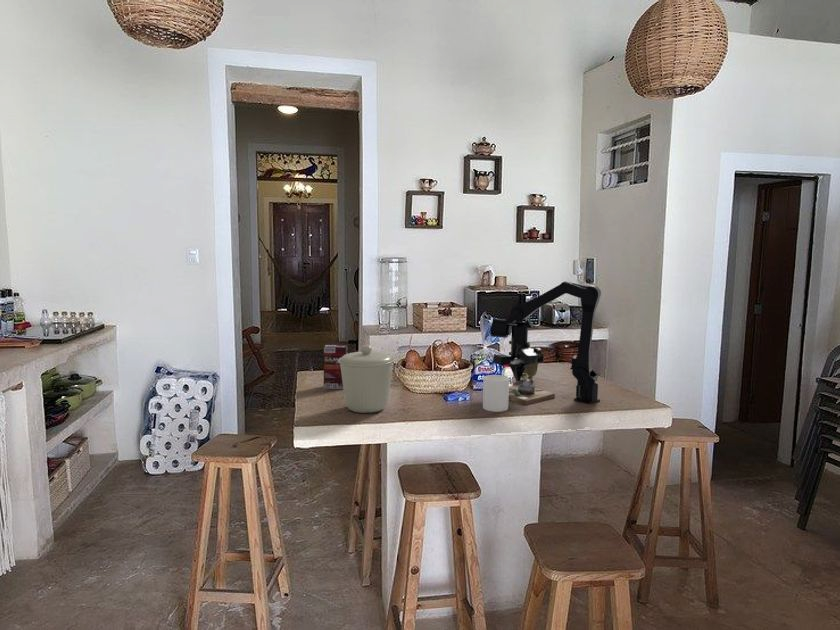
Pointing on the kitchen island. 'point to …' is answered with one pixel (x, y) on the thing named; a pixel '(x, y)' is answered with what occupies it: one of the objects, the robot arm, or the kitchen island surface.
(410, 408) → the kitchen island surface
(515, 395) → the stand
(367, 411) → the canister
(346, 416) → the kitchen island surface
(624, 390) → the kitchen island surface
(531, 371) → the cup
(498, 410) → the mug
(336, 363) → the supplement box
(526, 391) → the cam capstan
